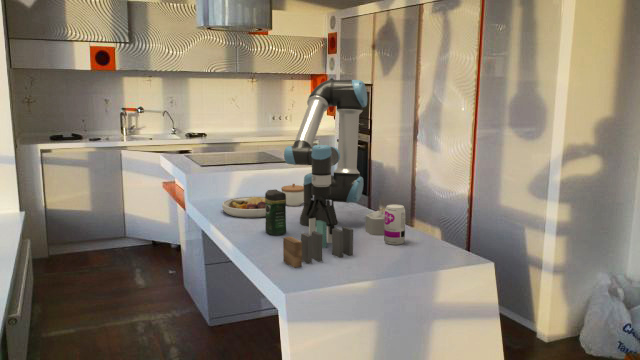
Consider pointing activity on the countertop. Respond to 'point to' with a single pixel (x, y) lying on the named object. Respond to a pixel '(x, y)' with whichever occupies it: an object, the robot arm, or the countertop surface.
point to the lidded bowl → (293, 194)
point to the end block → (292, 251)
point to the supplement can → (394, 224)
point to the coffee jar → (275, 212)
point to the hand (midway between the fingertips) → (321, 238)
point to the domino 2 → (321, 230)
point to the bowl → (245, 207)
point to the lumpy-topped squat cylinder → (375, 223)
